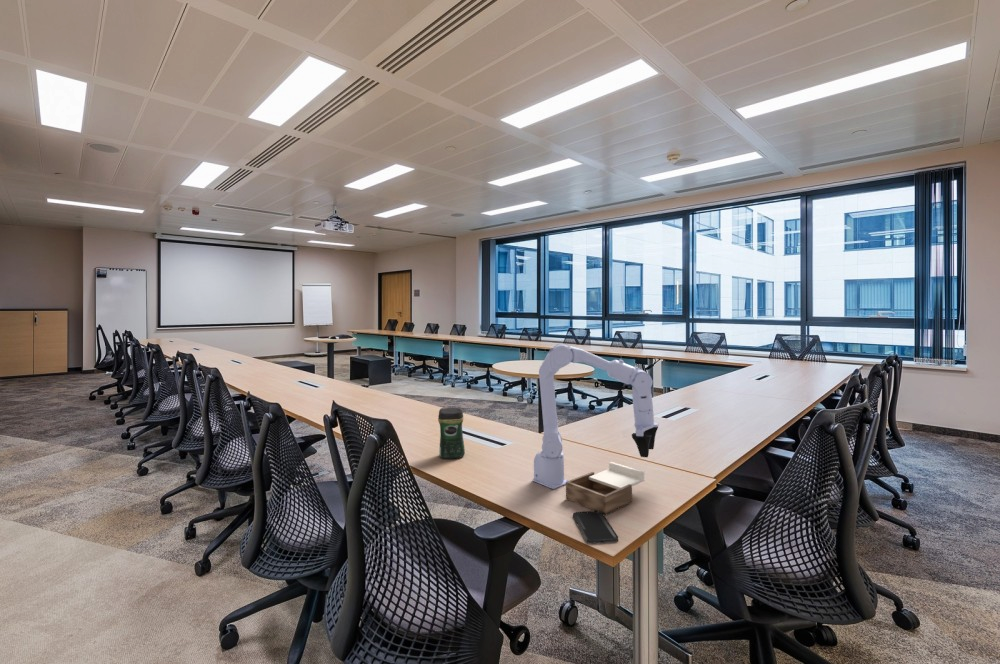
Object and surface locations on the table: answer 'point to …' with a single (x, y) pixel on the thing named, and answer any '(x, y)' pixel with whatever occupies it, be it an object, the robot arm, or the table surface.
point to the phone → (595, 527)
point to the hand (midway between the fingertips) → (647, 452)
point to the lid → (618, 476)
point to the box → (597, 494)
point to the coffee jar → (451, 433)
